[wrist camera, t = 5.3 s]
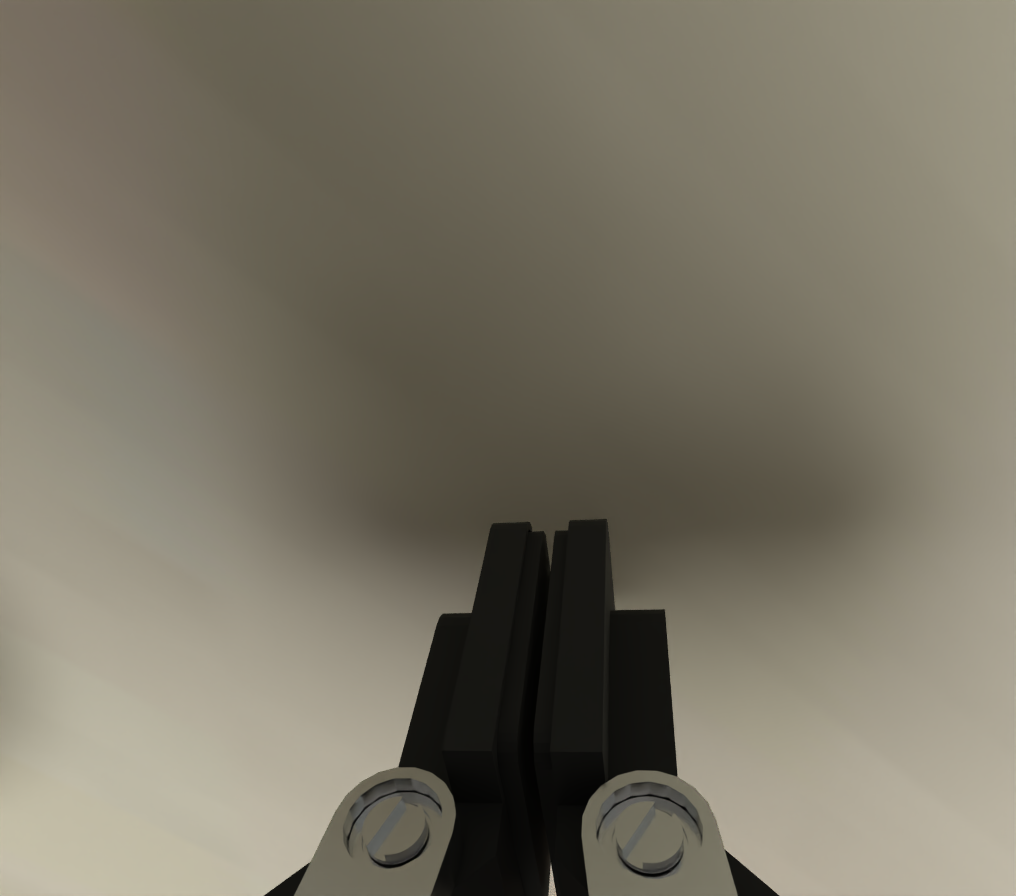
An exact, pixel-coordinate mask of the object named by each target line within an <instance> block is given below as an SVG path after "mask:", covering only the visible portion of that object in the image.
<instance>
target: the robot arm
mask: <svg viewBox="0 0 1016 896" xmlns="http://www.w3.org/2000/svg"><path fill="white" fill-rule="evenodd" d="M550 865H552V871H553V877H554V883H555V888H556V894H557V896H779V895H778V894H777V893H776V892H774V891H773V890H772V889H771V888H770V887H768V886H767V885H766V884H765V883H764V882H763V881H761V880H760V879H759V878H758V877H757V876H755V875H754V874H753V873H752V872H751V871H750V870H748V869H747V868H746V867H745V866H744V865H742V864H741V863H740V862H739V861H738V860H737V859H735V858H734V857H733V856H732V855H731V854H729V853H728V852H727V851H726V850H725V849H724V846H723V842H722V839H721V835H720V832H719V828H718V825H717V821H716V819H715V817H714V814H713V812H712V810H711V808H710V806H709V804H708V802H707V801H706V800H705V799H704V798H703V796H702V795H701V794H700V793H699V792H698V791H697V790H696V789H695V788H694V787H693V786H691V785H690V784H688V783H686V782H685V781H683V780H681V779H680V778H678V777H677V763H676V750H675V737H674V724H673V710H672V697H671V684H670V671H669V657H668V644H667V631H666V618H665V609H662V610H615V604H614V592H613V580H612V568H611V555H610V543H609V531H608V522H607V519H596V520H570V521H569V527H568V531H555V536H554V545H553V554H552V564H551V571H550V564H549V556H548V548H547V541H546V535H545V532H544V531H540V532H532V527H531V524H530V522H516V523H493V524H492V526H491V529H490V533H489V538H488V542H487V547H486V551H485V556H484V560H483V565H482V569H481V574H480V578H479V583H478V587H477V592H476V597H475V601H474V606H473V610H472V613H454V614H442V615H441V617H440V618H439V620H438V623H437V626H436V630H435V633H434V637H433V641H432V644H431V648H430V652H429V656H428V659H427V663H426V667H425V670H424V674H423V678H422V682H421V685H420V689H419V693H418V696H417V700H416V704H415V708H414V711H413V715H412V719H411V722H410V726H409V730H408V733H407V737H406V741H405V745H404V748H403V752H402V756H401V759H400V763H399V767H397V768H393V769H389V770H385V771H382V772H378V773H376V774H375V775H373V776H371V777H369V778H367V779H365V780H363V781H362V782H360V783H359V784H358V785H357V786H356V787H355V788H354V789H353V790H351V791H350V792H349V793H348V794H347V795H346V796H345V798H344V799H343V801H342V802H341V804H340V805H339V807H338V808H337V810H336V811H335V813H334V815H333V817H332V819H331V821H330V823H329V825H328V828H327V830H326V832H325V834H324V836H323V838H322V840H321V842H320V844H319V846H318V848H317V850H316V852H315V854H314V856H313V858H312V860H311V862H310V863H308V864H307V865H306V866H304V867H303V868H301V869H300V870H299V871H297V872H296V873H295V874H293V875H292V876H290V877H289V878H288V879H286V880H285V881H284V882H282V883H281V884H279V885H278V886H277V887H275V888H274V889H272V890H271V891H270V892H268V893H267V894H266V895H264V896H548V892H549V878H550Z"/></svg>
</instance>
